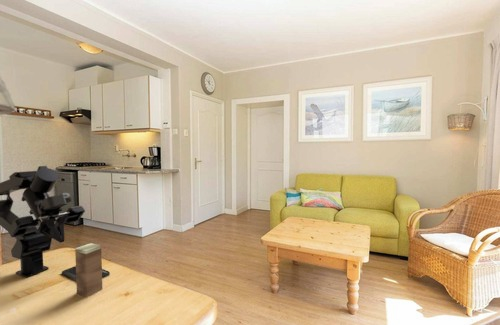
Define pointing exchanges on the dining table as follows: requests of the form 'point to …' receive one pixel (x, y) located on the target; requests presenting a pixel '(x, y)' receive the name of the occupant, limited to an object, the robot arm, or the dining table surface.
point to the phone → (72, 273)
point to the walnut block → (88, 269)
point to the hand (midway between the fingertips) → (62, 241)
